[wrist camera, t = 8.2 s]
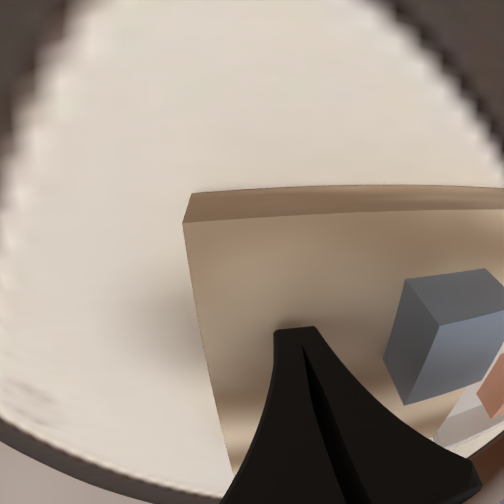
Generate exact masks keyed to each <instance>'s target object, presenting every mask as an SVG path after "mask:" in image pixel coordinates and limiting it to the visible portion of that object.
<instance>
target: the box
mask: <svg viewBox="0 0 504 504" xmlns="http://www.w3.org/2000/svg"><path fill="white" fill-rule="evenodd" d="M502 353H504V342H503V344H502V346H501V348H500V350H499V352H498V353H497V355H496V357H495V359H494V361H493V362H492V364H491V366H490V368H489V369H488V371H487V373H486V374H485V376H484V378H483V379H482V381H479V382H477V383H474V384H471V385H469V386H467V387H466V389H465V391H464V392H463V394H462V395H461V397H460V399H459V400H458V402H457V403H456V405H455V406H454V408H453V409H452V411H451V412H450V414H449V415H448V416H447V418H446V419H445V421H444V422H443V423H442V425H441V426H440V428H439V429H438V430H437V432H436V433H435V434H434V436H433V439H434V441H435V443H436V444H438V445H440V446H441V447H443V448H445V449H447V450H448V449H451V448H453V447H456V446H458V445H460V444H463V443H465V442H467V441H469V440H472V439H474V438H476V437H478V436H480V435H482V434H484V433H487V432H489V431H491V430H493V429H495V428H497V427H498V426H500V425H502V424H504V413H503V414H501V415H499V416H497V417H495V418H493V419H490V417H489V415H488V413H487V411H486V410H485V408H484V406H483V404H482V403H481V401H480V399H479V397H478V396H477V394H476V393H477V392H478V390H479V389H480V387H481V386H482V384H483V382H484V381H485V379H486V378H487V376H488V374H489V373H490V371H491V370H492V368H493V366H494V365H495V363H496V361H497V359H498V358H499V356H500V354H502Z"/></svg>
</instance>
